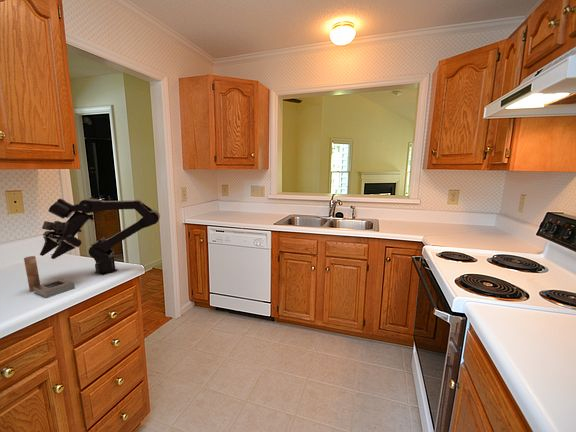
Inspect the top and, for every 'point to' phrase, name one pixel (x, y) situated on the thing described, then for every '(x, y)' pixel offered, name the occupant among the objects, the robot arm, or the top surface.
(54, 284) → the square hole frame
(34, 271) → the walnut pin
